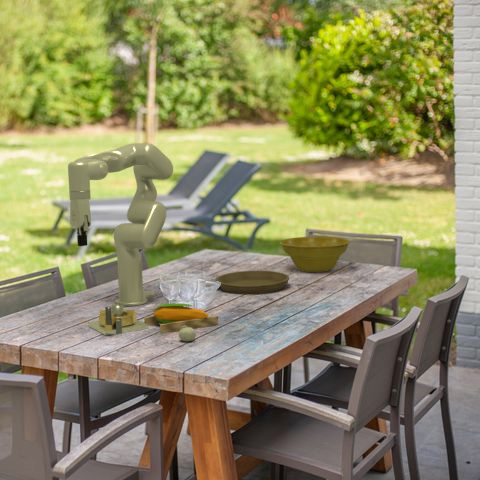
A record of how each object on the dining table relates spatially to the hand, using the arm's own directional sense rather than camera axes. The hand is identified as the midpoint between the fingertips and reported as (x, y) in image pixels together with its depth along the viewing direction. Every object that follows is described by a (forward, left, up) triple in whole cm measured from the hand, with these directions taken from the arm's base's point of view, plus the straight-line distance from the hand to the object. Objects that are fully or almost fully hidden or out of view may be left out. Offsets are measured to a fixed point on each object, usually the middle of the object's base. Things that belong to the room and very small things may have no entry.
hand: (82, 245), depth 353 cm
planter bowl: (-121, -29, -27) cm, 127 cm away
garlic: (-16, +52, -27) cm, 61 cm away
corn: (-24, +31, -27) cm, 48 cm away
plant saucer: (-78, -12, -28) cm, 84 cm away
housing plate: (-4, +21, -27) cm, 35 cm away
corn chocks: (-24, +31, -27) cm, 48 cm away
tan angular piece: (-2, +23, -25) cm, 34 cm away
